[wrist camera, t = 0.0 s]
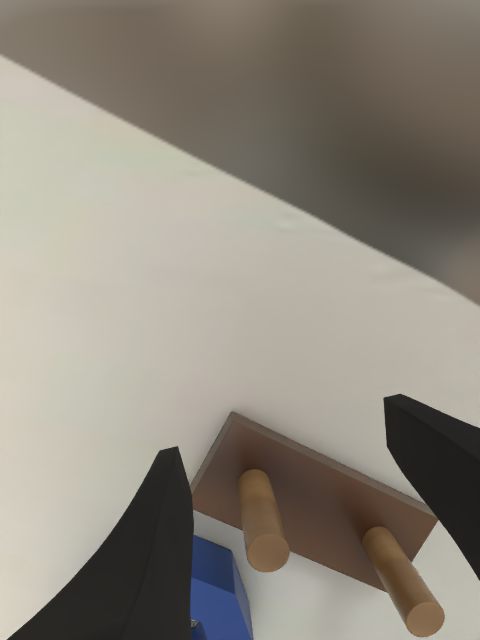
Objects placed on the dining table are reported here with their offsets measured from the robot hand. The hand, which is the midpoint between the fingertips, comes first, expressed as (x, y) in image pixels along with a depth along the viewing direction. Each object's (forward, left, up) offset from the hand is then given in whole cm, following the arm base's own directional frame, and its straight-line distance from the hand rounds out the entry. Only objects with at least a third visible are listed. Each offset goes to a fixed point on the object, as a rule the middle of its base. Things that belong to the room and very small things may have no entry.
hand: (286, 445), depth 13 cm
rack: (-6, -8, -11) cm, 15 cm away
